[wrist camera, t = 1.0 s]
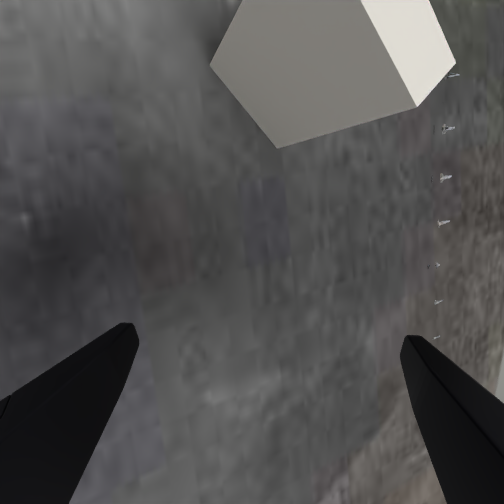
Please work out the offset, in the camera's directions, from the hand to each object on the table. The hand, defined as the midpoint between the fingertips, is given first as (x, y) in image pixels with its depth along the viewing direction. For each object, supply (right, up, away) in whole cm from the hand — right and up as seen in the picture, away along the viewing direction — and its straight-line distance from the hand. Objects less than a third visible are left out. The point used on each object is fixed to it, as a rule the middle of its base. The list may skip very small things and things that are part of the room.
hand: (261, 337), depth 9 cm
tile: (0, +14, +11) cm, 17 cm away
